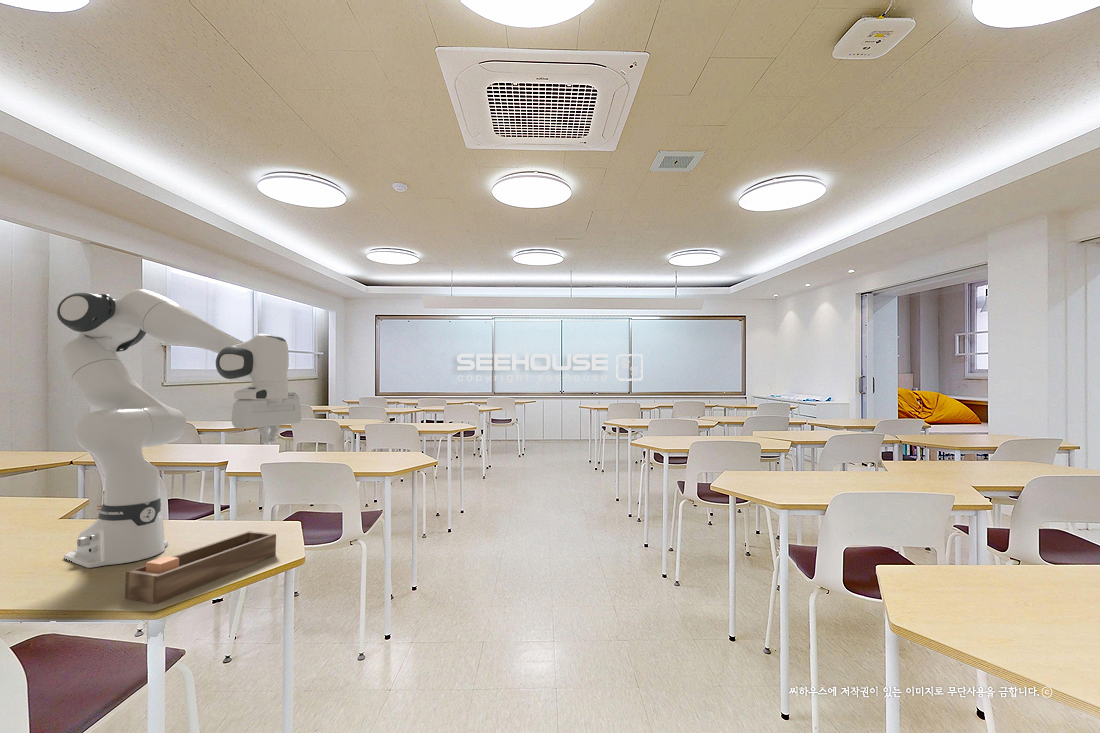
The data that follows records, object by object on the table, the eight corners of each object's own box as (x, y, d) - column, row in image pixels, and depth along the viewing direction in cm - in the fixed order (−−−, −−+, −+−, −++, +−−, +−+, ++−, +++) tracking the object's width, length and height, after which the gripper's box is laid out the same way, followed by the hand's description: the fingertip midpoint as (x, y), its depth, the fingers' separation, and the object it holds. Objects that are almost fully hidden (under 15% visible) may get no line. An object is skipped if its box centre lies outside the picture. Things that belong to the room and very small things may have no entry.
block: (145, 581, 104) (146, 562, 104) (164, 574, 108) (165, 556, 108) (159, 583, 103) (160, 564, 103) (178, 576, 107) (179, 557, 107)
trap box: (124, 598, 103) (125, 571, 103) (248, 551, 131) (249, 531, 132) (156, 603, 100) (157, 576, 100) (275, 555, 129) (276, 534, 129)
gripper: (290, 392, 146) (288, 438, 146) (228, 392, 127) (226, 446, 126) (307, 392, 144) (306, 439, 144) (247, 393, 125) (245, 447, 124)
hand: (268, 442), depth 135 cm, fingers closed
